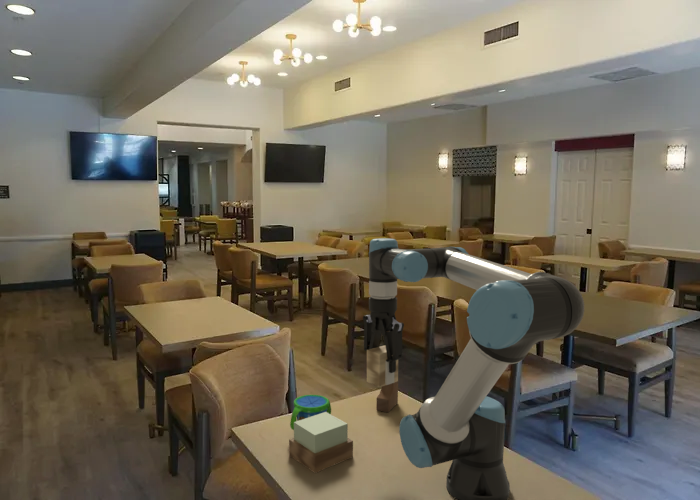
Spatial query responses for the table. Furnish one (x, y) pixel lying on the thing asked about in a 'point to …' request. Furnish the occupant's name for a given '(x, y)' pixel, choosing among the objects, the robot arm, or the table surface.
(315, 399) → the snack cup
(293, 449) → the walnut slab
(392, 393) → the wooden block
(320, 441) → the sage slab
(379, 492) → the table surface
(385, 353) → the oak block
